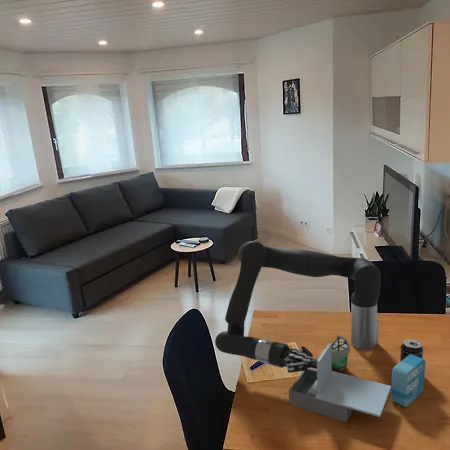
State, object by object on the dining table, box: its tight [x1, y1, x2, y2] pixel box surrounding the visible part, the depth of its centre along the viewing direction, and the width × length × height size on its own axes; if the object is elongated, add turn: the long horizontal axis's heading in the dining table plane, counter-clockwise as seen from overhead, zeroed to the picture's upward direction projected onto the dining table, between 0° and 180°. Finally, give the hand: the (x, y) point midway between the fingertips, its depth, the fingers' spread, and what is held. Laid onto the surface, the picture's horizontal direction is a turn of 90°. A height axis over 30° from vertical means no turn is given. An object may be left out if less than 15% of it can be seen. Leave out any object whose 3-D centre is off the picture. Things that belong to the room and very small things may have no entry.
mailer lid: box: [315, 342, 392, 418], centre depth 131 cm, size 19×15×12 cm
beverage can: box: [399, 338, 424, 363], centre depth 146 cm, size 7×7×12 cm
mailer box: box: [288, 368, 354, 423], centre depth 138 cm, size 18×14×5 cm
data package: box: [390, 354, 426, 408], centre depth 136 cm, size 12×4×12 cm, turn 131°
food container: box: [331, 335, 351, 374], centre depth 152 cm, size 12×6×10 cm, turn 148°
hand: (323, 365), depth 136 cm, fingers closed
